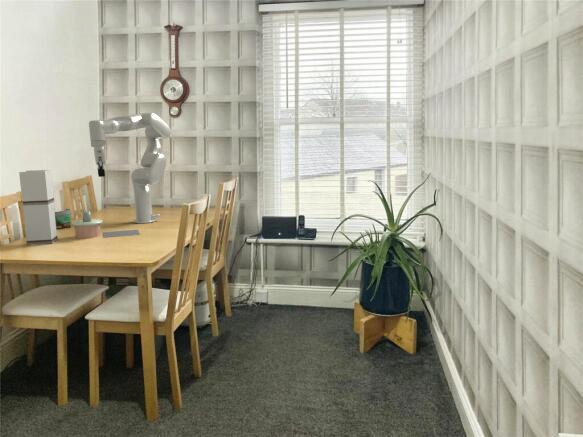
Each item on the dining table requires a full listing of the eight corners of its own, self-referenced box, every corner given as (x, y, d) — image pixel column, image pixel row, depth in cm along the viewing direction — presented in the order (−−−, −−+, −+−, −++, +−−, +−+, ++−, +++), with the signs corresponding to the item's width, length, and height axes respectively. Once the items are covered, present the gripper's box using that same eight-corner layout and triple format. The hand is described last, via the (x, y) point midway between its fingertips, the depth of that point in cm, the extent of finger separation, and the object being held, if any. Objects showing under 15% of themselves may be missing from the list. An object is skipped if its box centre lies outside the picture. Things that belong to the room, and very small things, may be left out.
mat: (137, 230, 285) (137, 229, 285) (140, 235, 270) (140, 234, 270) (102, 233, 279) (102, 232, 279) (103, 238, 264) (103, 237, 264)
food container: (64, 229, 293) (62, 212, 291) (54, 229, 294) (52, 211, 293) (77, 225, 305) (76, 208, 303) (68, 225, 306) (66, 208, 305)
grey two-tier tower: (57, 239, 266) (51, 169, 260) (52, 243, 255) (44, 171, 250) (33, 240, 264) (26, 170, 258) (26, 245, 253) (19, 172, 248)
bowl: (100, 233, 278) (99, 220, 277) (101, 237, 267) (99, 224, 266) (76, 235, 274) (74, 222, 273) (75, 240, 263) (74, 226, 262)
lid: (102, 220, 279) (101, 208, 278) (103, 224, 265) (102, 212, 264) (72, 222, 274) (70, 211, 273) (70, 227, 260) (69, 214, 259)
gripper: (106, 143, 275) (109, 176, 278) (105, 143, 291) (108, 174, 294) (91, 144, 272) (94, 177, 275) (90, 143, 288) (93, 175, 291)
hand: (101, 175), depth 285 cm, fingers open, 9 cm apart
